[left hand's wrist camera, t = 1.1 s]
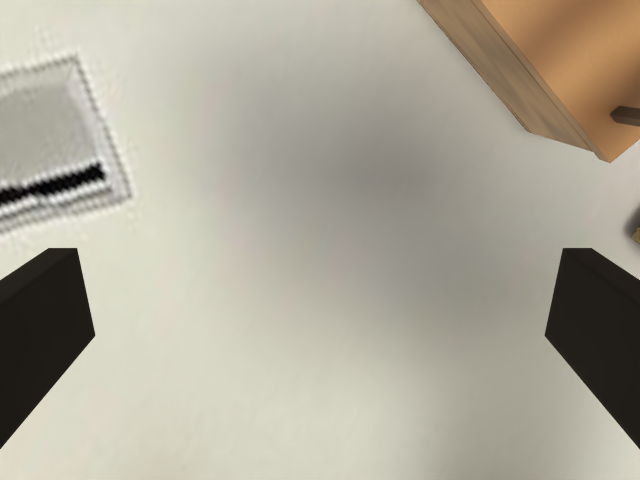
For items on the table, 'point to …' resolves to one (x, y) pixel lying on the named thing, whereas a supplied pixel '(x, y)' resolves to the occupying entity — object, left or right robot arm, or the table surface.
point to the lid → (580, 62)
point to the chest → (502, 69)
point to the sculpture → (637, 235)
